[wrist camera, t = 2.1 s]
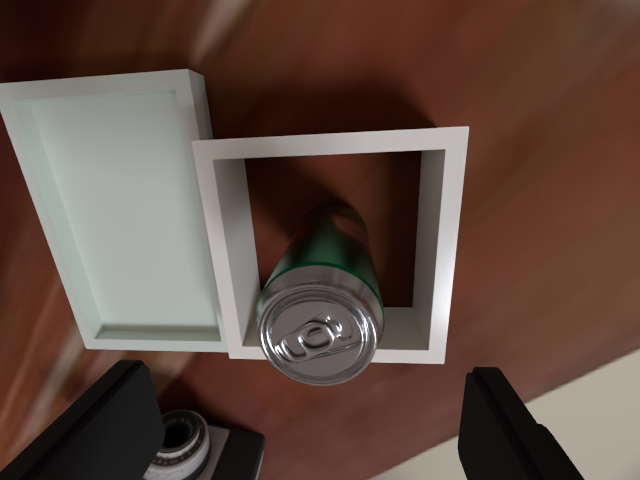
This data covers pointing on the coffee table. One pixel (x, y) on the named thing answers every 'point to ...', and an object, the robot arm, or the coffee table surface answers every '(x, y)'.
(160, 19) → the coffee table surface
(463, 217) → the coffee table surface
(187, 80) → the tray
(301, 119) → the coffee table surface
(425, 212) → the holder
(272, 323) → the soda can
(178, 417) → the camera
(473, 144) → the coffee table surface
